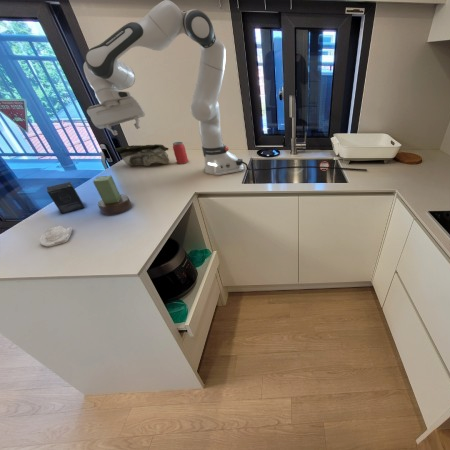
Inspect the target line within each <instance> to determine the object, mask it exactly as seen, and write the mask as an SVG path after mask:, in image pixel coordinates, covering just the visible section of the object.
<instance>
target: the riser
mask: <svg viewBox="0 0 450 450" xmlns="http://www.w3.org/2000/svg"><path fill="white" fill-rule="evenodd" d="M120 196H121V198H120V200H119V202H116V203H109V204H104V202H103V200H102V199H101V200H99V201H98V202H97V206H98V208H99V210H100V212H101V213H102V215H105V216H115V215H119V214H122V213H126V212H128V211H129V210H130V209H131V208H132V207H133V204H132V201H131V200H130V198H129V196H128V195H127V194H120Z"/></svg>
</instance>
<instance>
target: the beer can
mask: <svg viewBox="0 0 450 450" xmlns="http://www.w3.org/2000/svg"><path fill="white" fill-rule="evenodd" d="M172 150H173V152H174V156H175V160H176V163H177V164H181V165H183V164H187V163H188V162H189V158H188V155H187V151H186V147H185V144H184V143H183V142H182V141H176V142H173V143H172Z"/></svg>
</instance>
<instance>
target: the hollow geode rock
mask: <svg viewBox="0 0 450 450" xmlns="http://www.w3.org/2000/svg"><path fill="white" fill-rule="evenodd" d="M114 150H115V153H119V155H120V157H121V159H122V160H123V162H124V163H125V164H126V165H127V166H130V167H133V166H136V165H137V166H139V165H140V166H141V165H142V166H150V165H151V164H153V163H159V164H162V165H168V164H169V163H170V158H169V155H168V153H167V152H166V151H169V150H170V148H169V147H166V146H165V145H163V144H157V143H156V144H145V145H143V144H142V145H140V144H139V145H137V144H135V145H126V146H122V147H115V148H114Z"/></svg>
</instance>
